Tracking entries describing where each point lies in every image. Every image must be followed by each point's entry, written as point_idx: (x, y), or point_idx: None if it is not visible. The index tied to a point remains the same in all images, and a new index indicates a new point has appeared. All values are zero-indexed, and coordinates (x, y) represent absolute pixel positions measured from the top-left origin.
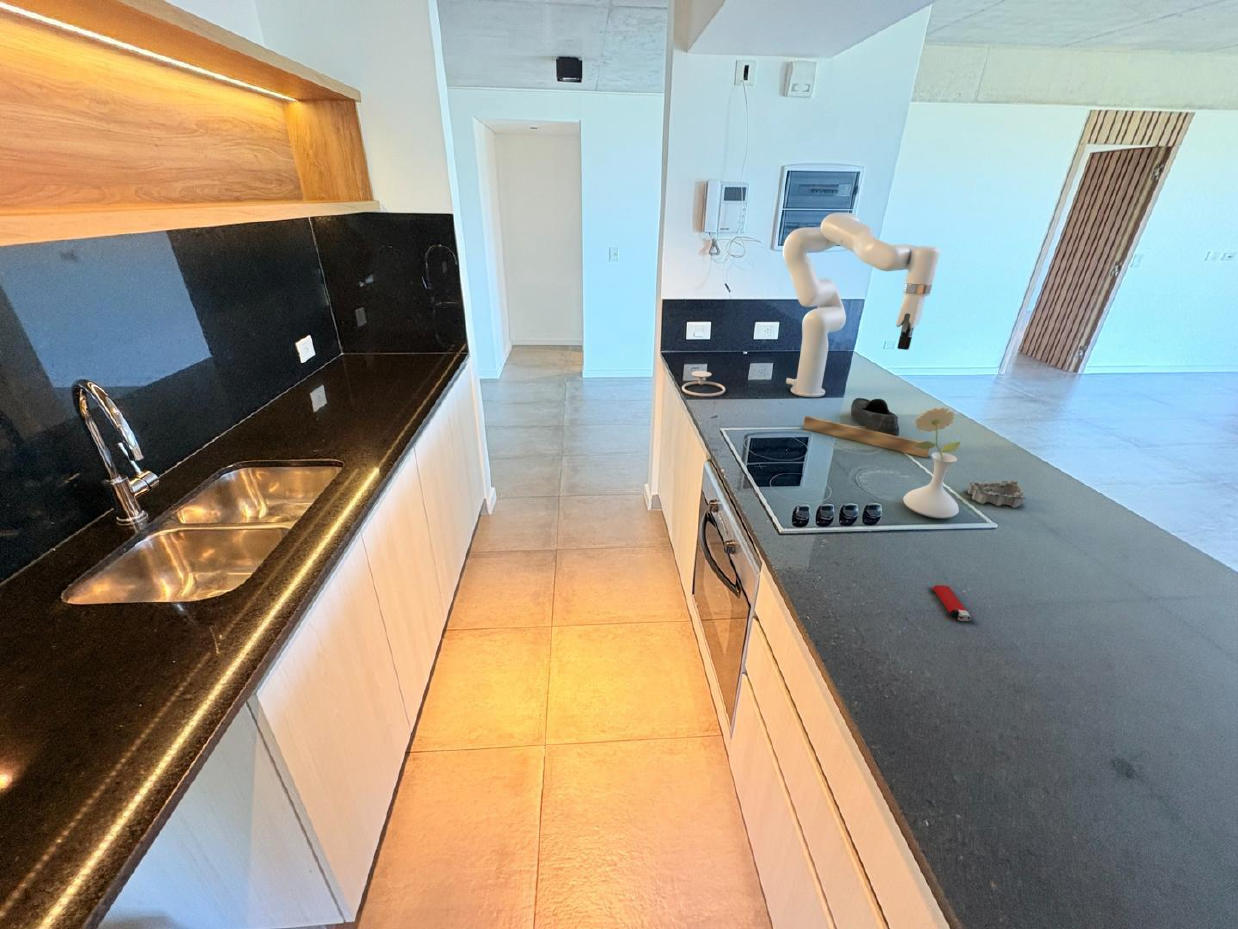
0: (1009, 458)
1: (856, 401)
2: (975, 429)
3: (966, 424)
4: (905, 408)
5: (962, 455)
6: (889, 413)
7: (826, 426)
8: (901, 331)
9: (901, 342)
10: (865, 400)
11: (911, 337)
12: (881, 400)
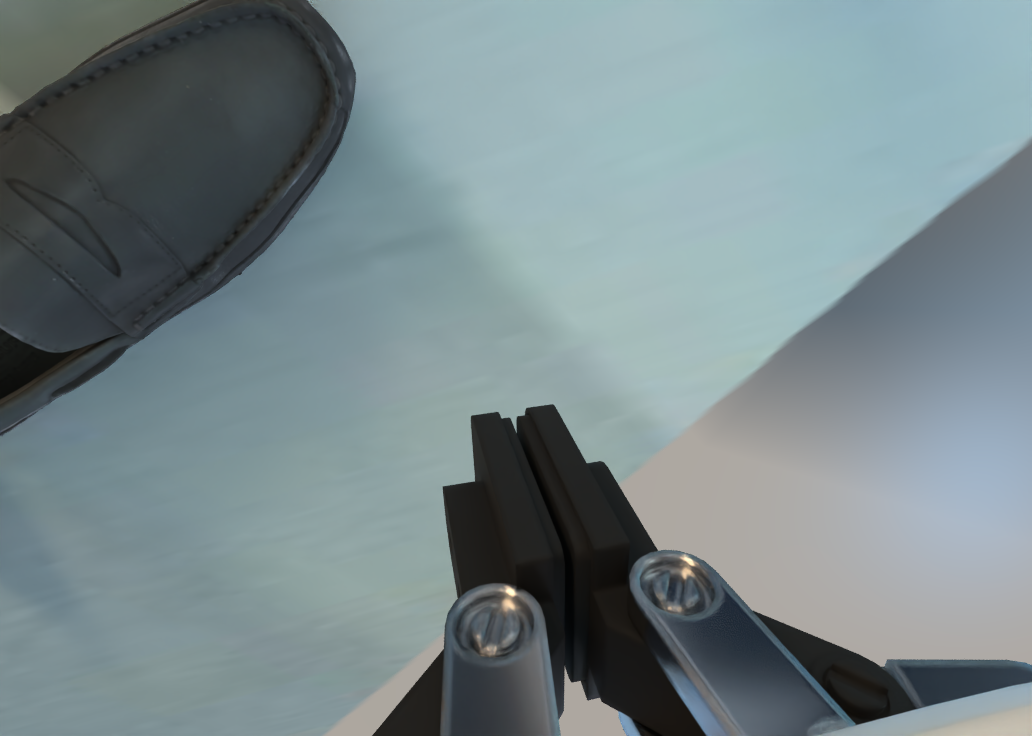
0: (279, 695)
1: (210, 28)
2: None
3: None
4: (628, 253)
5: (153, 618)
6: (58, 365)
7: None
8: (442, 733)
9: (453, 534)
10: (321, 81)
11: (586, 688)
12: (8, 320)
